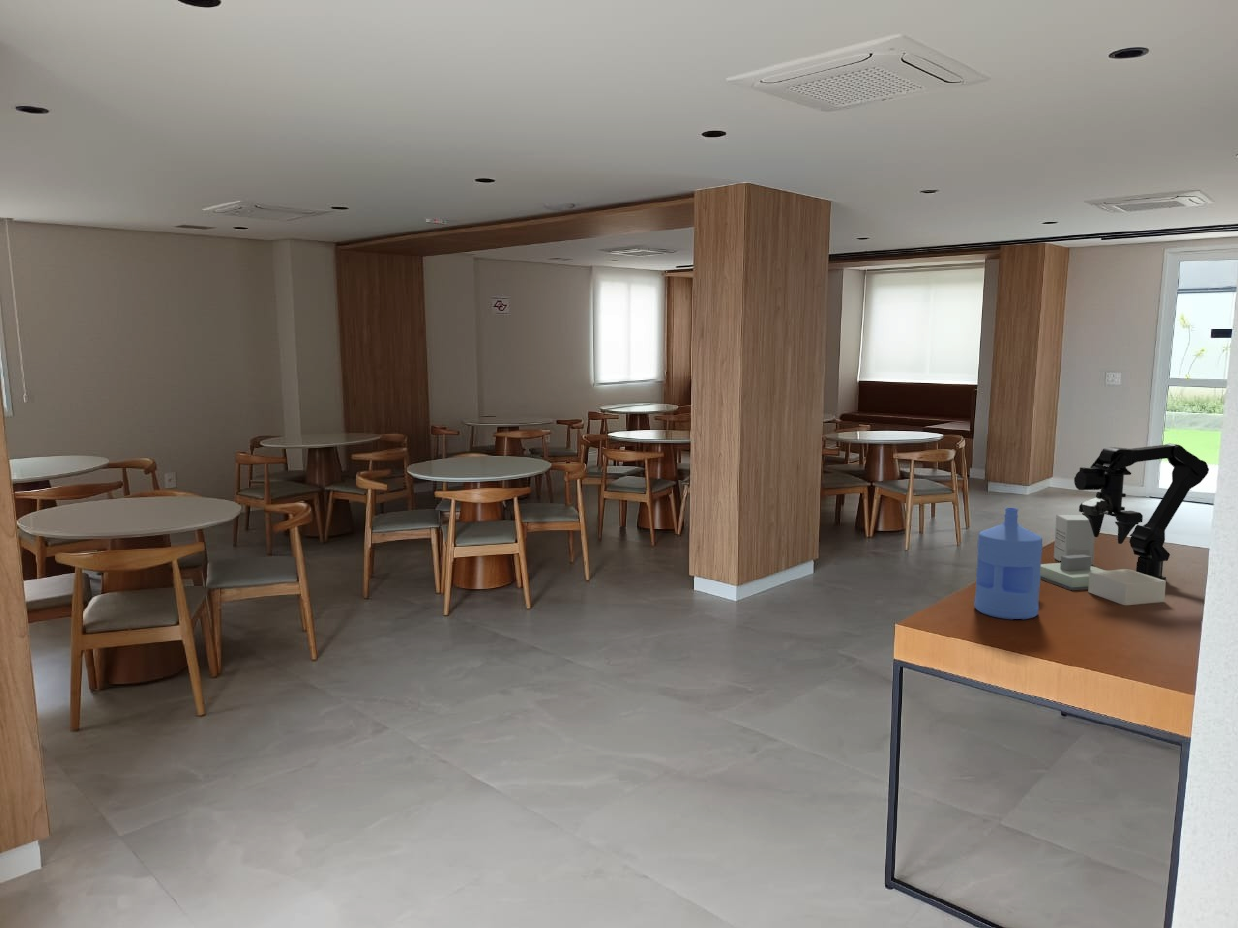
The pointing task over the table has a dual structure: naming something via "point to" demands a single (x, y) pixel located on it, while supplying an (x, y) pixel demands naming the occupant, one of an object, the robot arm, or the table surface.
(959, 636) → the table surface
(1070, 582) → the lid
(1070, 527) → the supplement box
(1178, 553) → the table surface
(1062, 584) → the mat
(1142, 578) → the storage box
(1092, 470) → the robot arm
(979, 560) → the water jug
